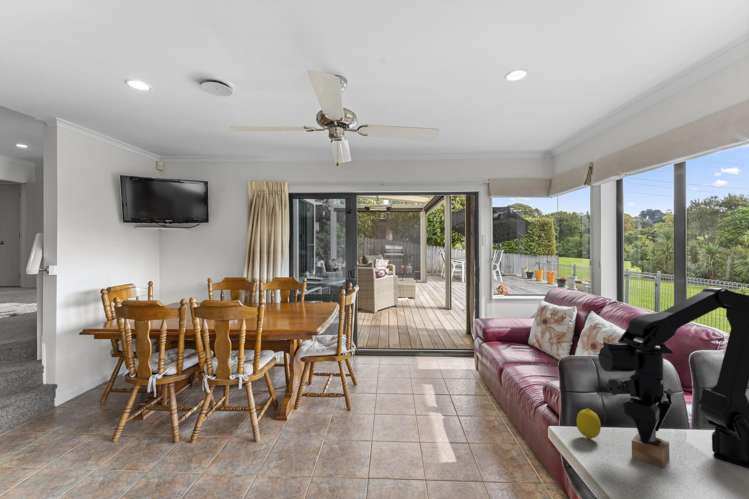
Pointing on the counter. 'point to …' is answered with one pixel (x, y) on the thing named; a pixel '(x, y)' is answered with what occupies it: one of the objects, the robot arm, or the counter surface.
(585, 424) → the lemon
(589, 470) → the counter surface
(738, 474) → the counter surface
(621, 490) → the counter surface
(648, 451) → the block with square hole
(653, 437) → the peg
